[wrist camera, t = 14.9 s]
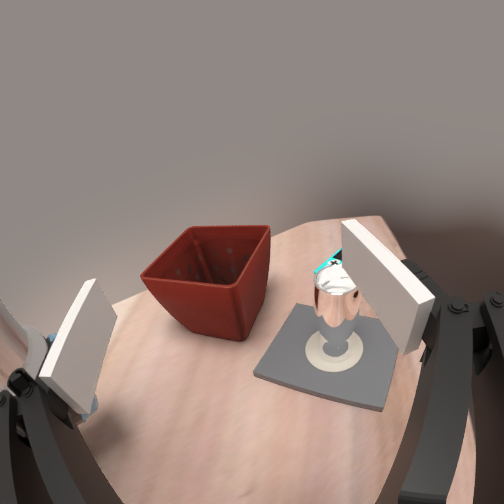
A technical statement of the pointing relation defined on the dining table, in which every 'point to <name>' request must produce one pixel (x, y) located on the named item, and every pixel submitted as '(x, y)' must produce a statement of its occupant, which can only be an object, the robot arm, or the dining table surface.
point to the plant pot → (213, 278)
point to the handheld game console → (332, 261)
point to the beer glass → (335, 312)
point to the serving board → (331, 373)
